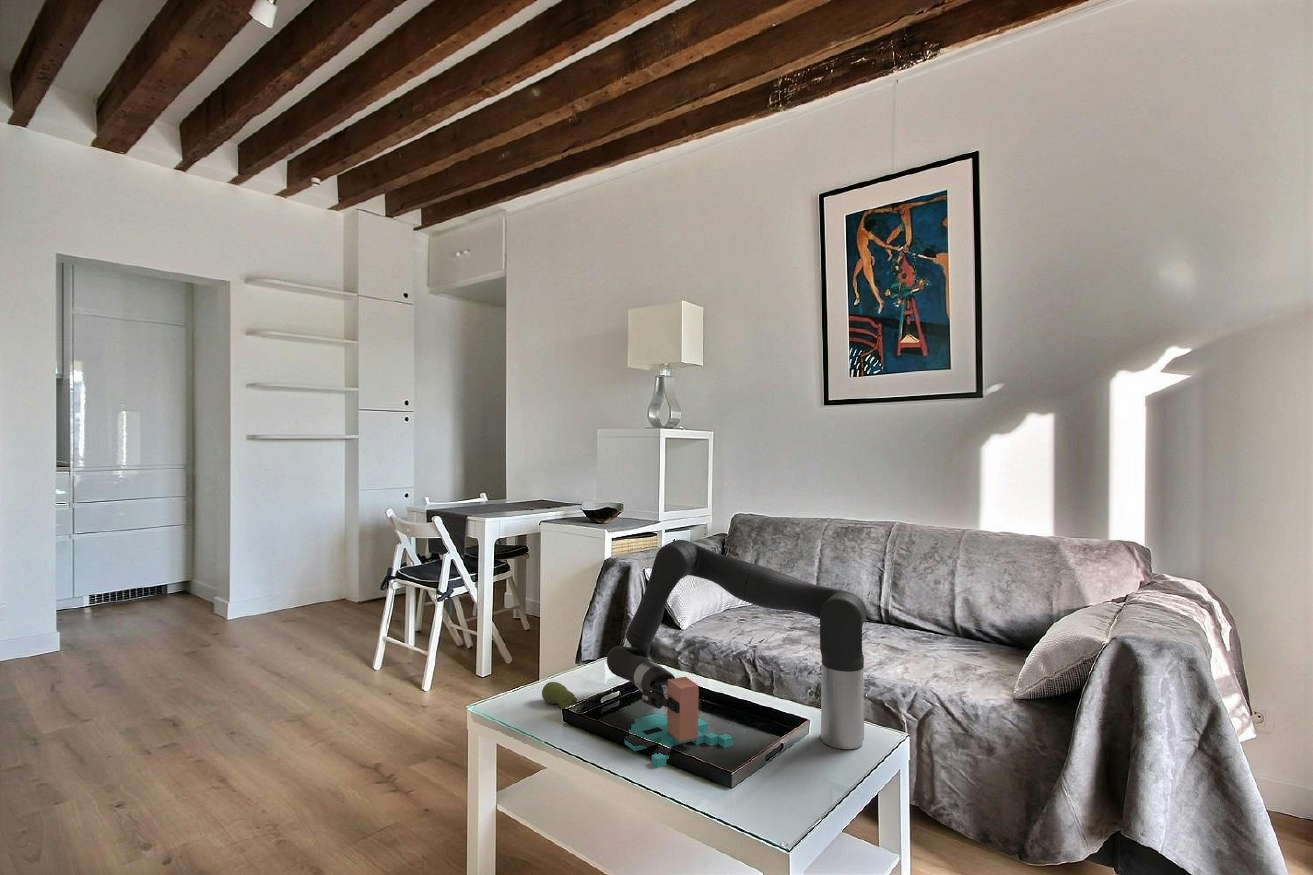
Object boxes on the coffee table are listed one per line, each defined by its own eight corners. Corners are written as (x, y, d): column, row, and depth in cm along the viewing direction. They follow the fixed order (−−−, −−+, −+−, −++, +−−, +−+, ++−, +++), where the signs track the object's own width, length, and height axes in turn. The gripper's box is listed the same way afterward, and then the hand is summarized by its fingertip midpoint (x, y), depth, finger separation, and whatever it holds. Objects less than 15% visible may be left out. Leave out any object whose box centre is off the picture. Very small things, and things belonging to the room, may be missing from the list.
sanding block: (684, 729, 159) (685, 676, 159) (697, 739, 153) (698, 685, 153) (667, 732, 157) (667, 679, 157) (679, 743, 151) (680, 688, 151)
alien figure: (732, 747, 155) (680, 716, 172) (732, 737, 155) (680, 707, 172) (657, 770, 144) (609, 734, 161) (657, 759, 144) (609, 725, 161)
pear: (553, 676, 182) (583, 690, 177) (550, 695, 182) (579, 710, 177) (539, 682, 177) (568, 697, 172) (536, 701, 178) (565, 717, 172)
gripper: (627, 669, 165) (659, 694, 149) (681, 661, 171) (717, 684, 156) (627, 701, 165) (659, 729, 149) (680, 692, 171) (716, 718, 156)
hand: (688, 706), depth 153 cm, fingers closed on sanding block, 4 cm apart
